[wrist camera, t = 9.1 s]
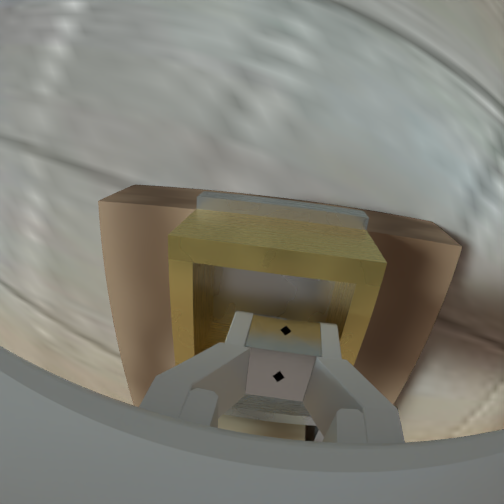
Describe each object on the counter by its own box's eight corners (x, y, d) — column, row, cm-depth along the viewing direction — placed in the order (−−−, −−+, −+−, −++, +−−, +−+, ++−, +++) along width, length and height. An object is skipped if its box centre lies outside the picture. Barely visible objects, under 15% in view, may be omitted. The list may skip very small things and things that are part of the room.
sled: (386, 213, 12) (422, 252, 8) (279, 505, 25) (275, 536, 21) (180, 188, 13) (135, 215, 9) (199, 493, 26) (191, 524, 22)
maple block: (305, 400, 17) (303, 484, 12) (283, 463, 21) (276, 525, 15) (209, 387, 18) (183, 467, 12) (211, 453, 21) (194, 512, 16)
